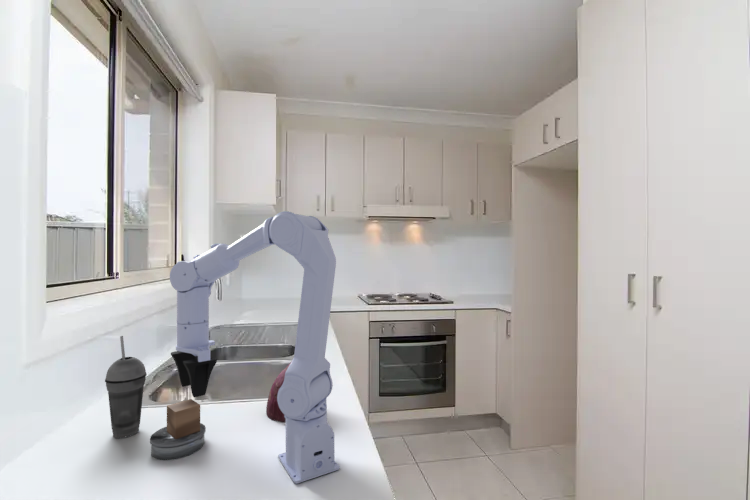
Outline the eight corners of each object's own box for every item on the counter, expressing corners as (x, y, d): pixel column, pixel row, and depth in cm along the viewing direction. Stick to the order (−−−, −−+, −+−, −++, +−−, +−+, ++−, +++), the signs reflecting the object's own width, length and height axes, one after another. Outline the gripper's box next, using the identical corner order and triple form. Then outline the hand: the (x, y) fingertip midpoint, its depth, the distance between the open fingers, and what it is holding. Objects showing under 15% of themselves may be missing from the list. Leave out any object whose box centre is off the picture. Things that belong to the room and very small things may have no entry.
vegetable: (313, 418, 91) (329, 357, 93) (300, 432, 81) (319, 363, 83) (273, 405, 92) (290, 345, 94) (256, 418, 82) (275, 350, 84)
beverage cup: (125, 443, 73) (126, 340, 73) (95, 439, 74) (95, 339, 75) (154, 426, 80) (155, 333, 80) (126, 423, 82) (126, 332, 82)
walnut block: (200, 430, 72) (200, 404, 72) (175, 439, 69) (175, 412, 69) (191, 423, 75) (191, 398, 75) (166, 431, 72) (166, 405, 72)
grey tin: (209, 452, 70) (209, 436, 70) (150, 467, 65) (150, 450, 65) (201, 432, 78) (201, 418, 78) (149, 444, 73) (149, 429, 73)
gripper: (226, 324, 71) (226, 395, 71) (202, 315, 82) (202, 377, 82) (187, 329, 67) (187, 405, 67) (167, 319, 78) (166, 384, 77)
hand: (193, 390), depth 74 cm, fingers open, 7 cm apart
